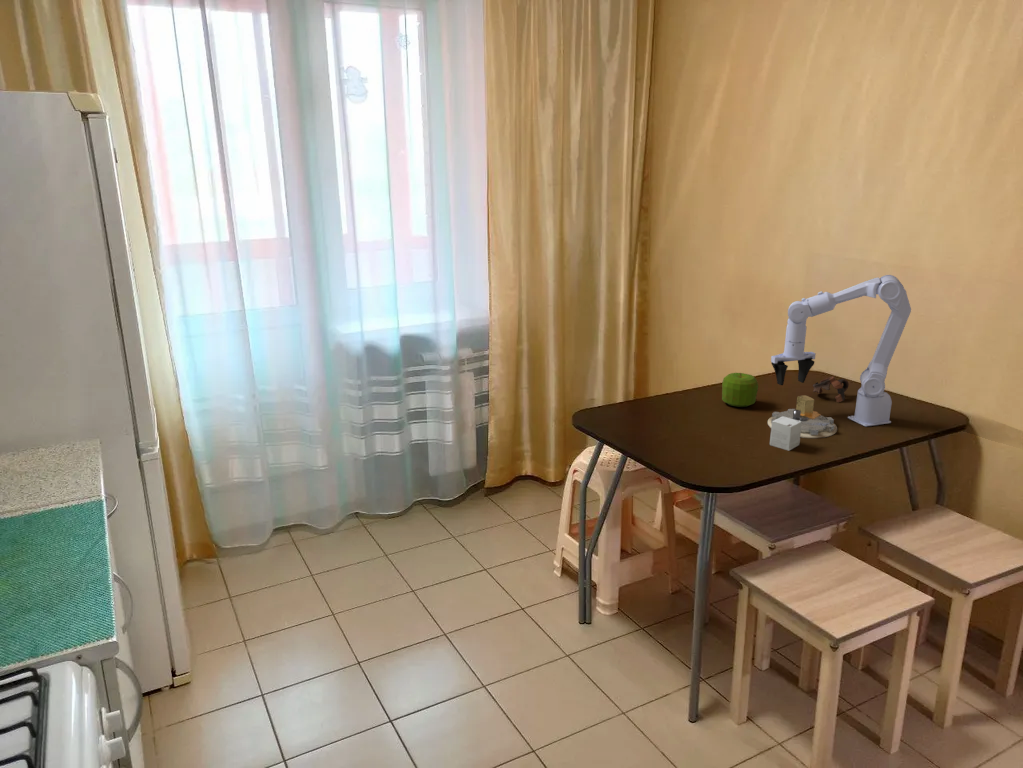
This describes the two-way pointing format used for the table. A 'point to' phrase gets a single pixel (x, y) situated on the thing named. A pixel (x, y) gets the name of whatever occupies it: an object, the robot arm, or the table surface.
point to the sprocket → (808, 421)
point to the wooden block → (805, 405)
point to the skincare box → (785, 433)
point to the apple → (739, 389)
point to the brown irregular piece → (836, 384)
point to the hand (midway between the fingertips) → (790, 383)
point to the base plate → (807, 435)
